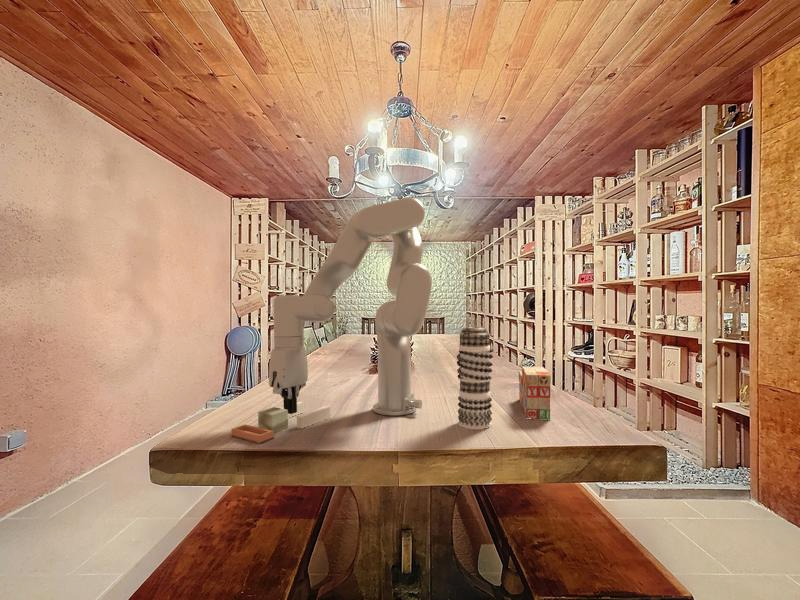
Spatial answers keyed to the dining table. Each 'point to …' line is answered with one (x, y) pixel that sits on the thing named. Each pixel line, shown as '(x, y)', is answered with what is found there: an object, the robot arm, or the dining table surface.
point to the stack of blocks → (535, 392)
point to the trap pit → (252, 434)
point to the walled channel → (310, 415)
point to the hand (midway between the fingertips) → (290, 412)
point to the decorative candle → (474, 378)
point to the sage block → (273, 419)
